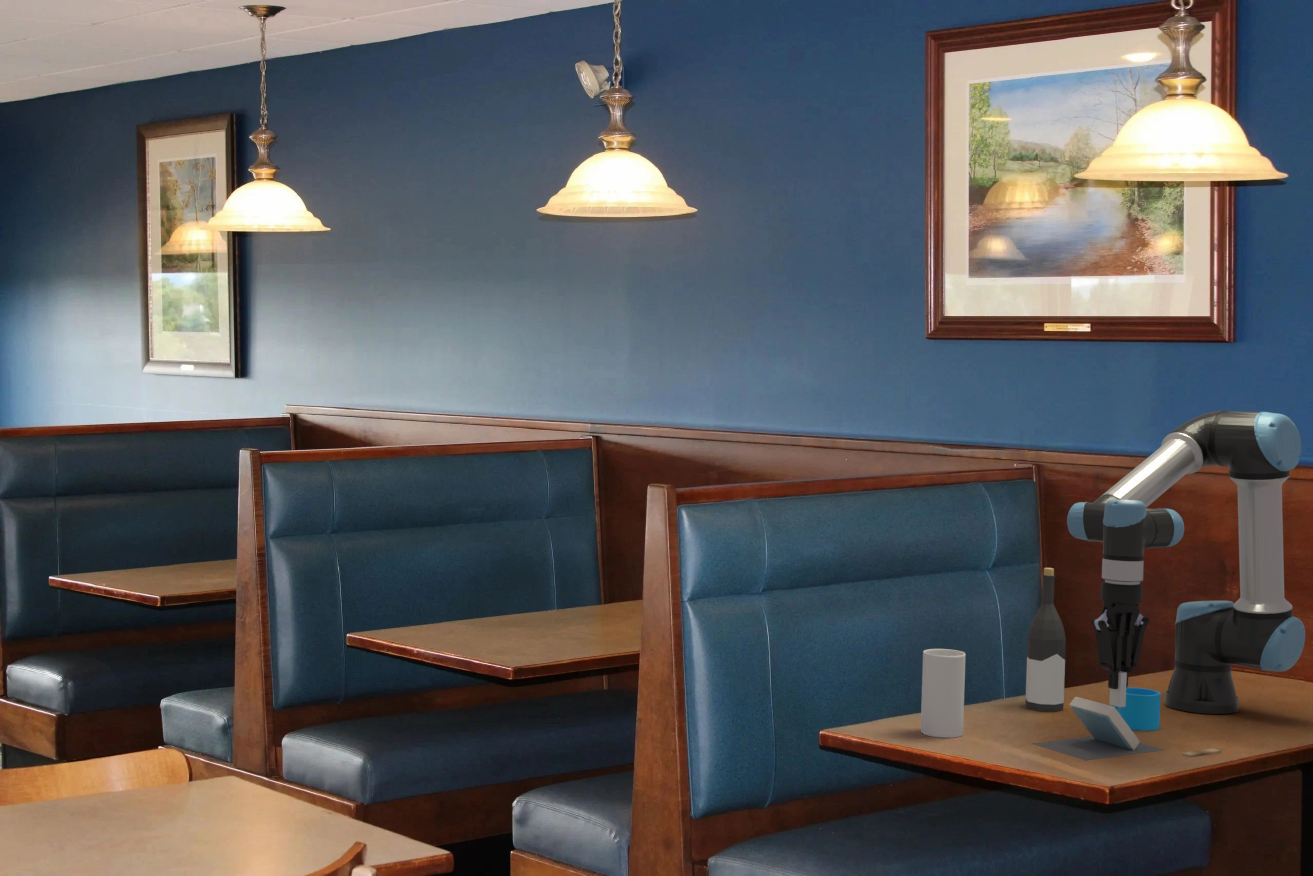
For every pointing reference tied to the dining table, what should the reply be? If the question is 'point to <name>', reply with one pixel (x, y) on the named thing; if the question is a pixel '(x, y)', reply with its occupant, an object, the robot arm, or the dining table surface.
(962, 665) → the cup
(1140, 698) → the mug
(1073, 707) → the tile
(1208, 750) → the turner
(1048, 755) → the dining table surface
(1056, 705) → the wine bottle
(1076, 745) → the mat
